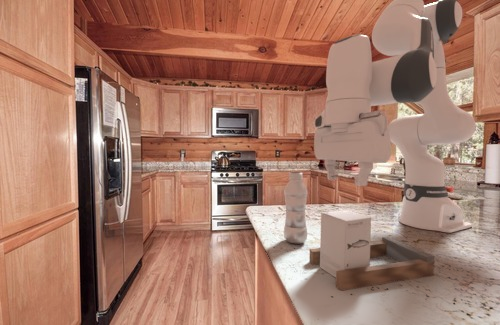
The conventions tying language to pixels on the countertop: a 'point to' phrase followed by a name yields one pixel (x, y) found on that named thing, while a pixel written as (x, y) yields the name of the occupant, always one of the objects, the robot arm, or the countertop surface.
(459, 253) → the countertop surface
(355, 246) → the supplement box
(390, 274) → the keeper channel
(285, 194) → the plastic bottle
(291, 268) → the countertop surface
